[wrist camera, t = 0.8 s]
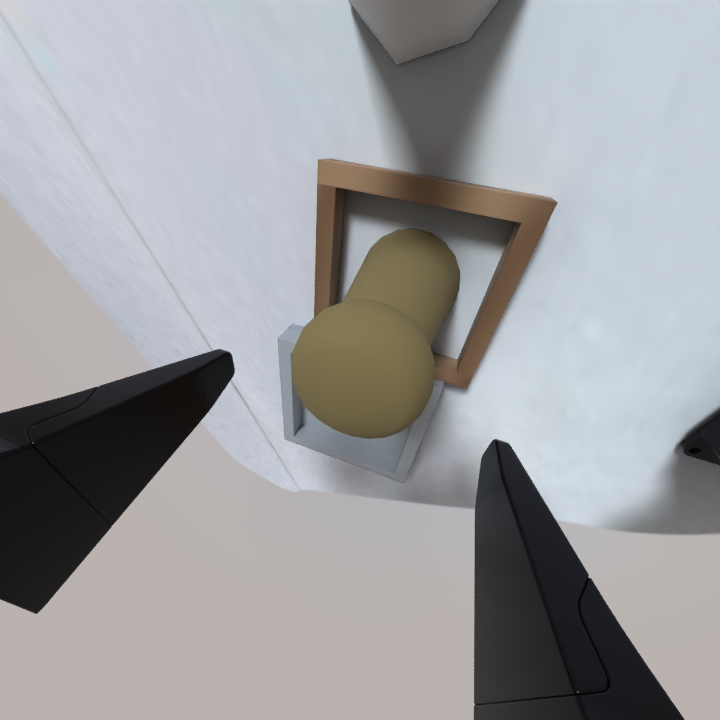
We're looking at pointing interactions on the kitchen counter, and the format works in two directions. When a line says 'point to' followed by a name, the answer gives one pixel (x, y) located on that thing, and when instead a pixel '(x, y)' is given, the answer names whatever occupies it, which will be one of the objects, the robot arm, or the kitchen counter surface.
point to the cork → (379, 339)
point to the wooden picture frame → (441, 193)
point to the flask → (421, 24)
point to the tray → (369, 454)
